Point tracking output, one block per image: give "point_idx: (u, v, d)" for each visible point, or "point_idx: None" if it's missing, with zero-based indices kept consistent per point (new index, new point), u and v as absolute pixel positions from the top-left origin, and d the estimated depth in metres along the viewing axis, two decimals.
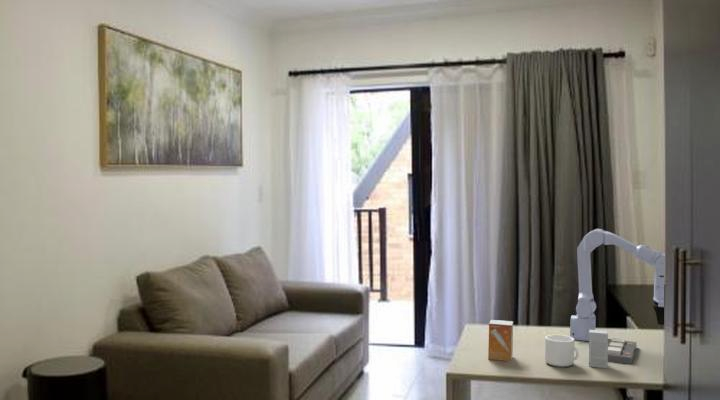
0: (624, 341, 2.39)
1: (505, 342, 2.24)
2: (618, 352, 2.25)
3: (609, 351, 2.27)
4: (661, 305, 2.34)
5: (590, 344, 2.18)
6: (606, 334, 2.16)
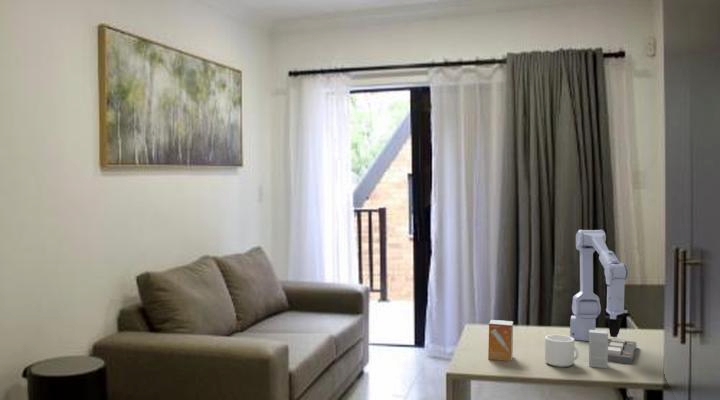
0: (624, 341, 2.39)
1: (505, 342, 2.24)
2: (618, 352, 2.25)
3: (609, 351, 2.27)
4: (613, 317, 2.21)
5: (590, 344, 2.18)
6: (606, 334, 2.16)
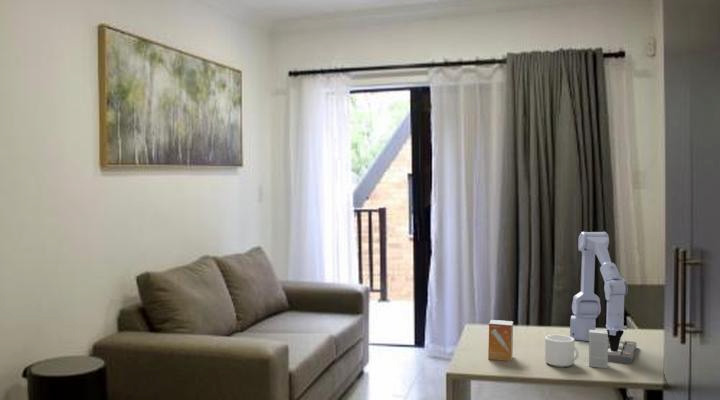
0: (624, 341, 2.39)
1: (505, 342, 2.24)
2: (618, 354, 2.25)
3: (609, 353, 2.27)
4: (612, 333, 2.21)
5: (590, 344, 2.18)
6: (606, 334, 2.16)
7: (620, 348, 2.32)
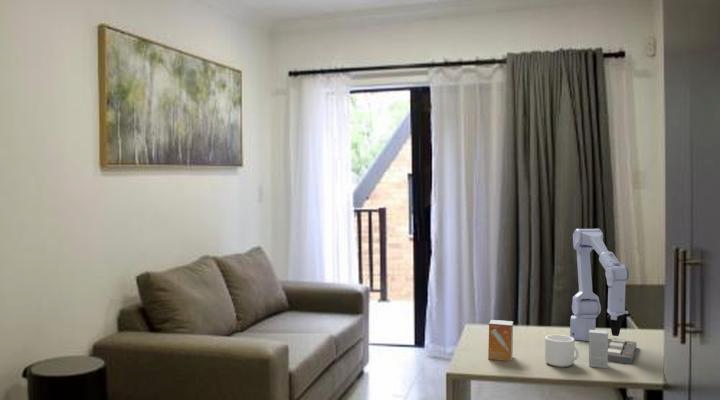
0: (624, 341, 2.39)
1: (505, 342, 2.24)
2: (618, 354, 2.25)
3: (609, 353, 2.27)
4: (613, 318, 2.25)
5: (590, 344, 2.18)
6: (606, 334, 2.16)
7: (620, 348, 2.32)
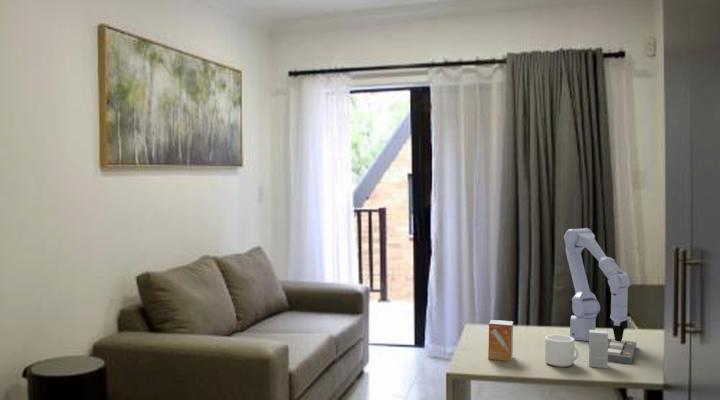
0: (624, 342, 2.39)
1: (505, 342, 2.24)
2: (618, 354, 2.25)
3: (609, 353, 2.27)
4: (617, 324, 2.34)
5: (590, 344, 2.18)
6: (606, 334, 2.16)
7: (620, 348, 2.32)
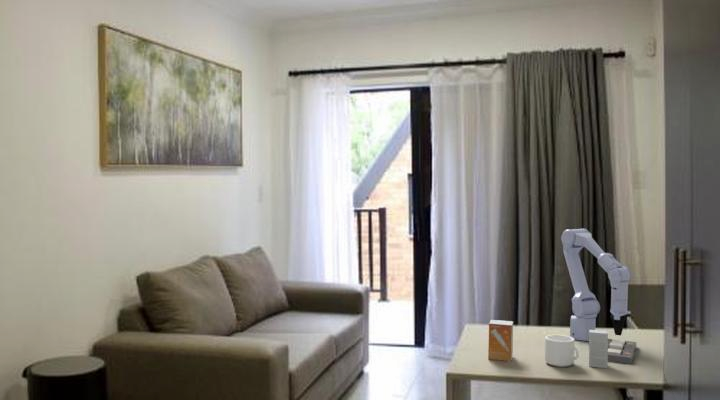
0: (624, 343, 2.39)
1: (505, 342, 2.24)
2: (618, 354, 2.25)
3: (609, 353, 2.27)
4: (617, 318, 2.34)
5: (590, 344, 2.18)
6: (606, 334, 2.16)
7: (620, 348, 2.32)
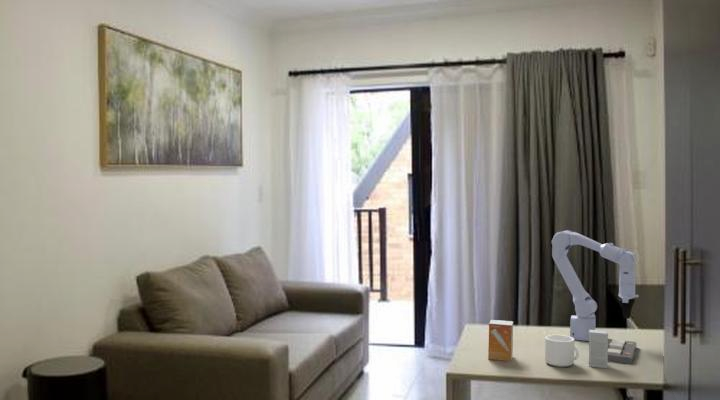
0: (624, 343, 2.39)
1: (505, 342, 2.24)
2: (618, 354, 2.25)
3: (609, 353, 2.27)
4: (625, 301, 2.39)
5: (590, 344, 2.18)
6: (606, 334, 2.16)
7: (620, 348, 2.32)
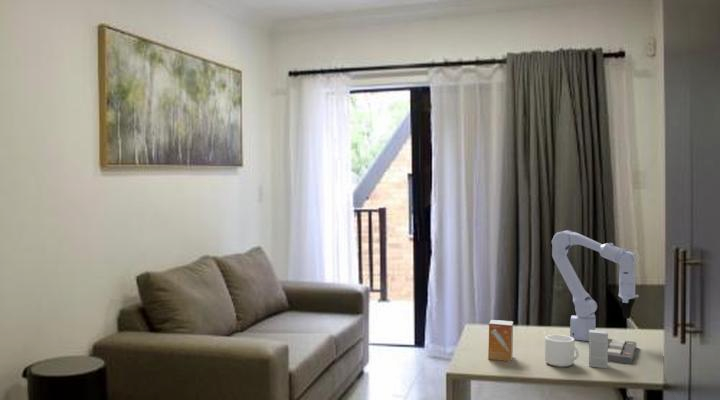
0: (624, 343, 2.39)
1: (505, 342, 2.24)
2: (618, 354, 2.25)
3: (609, 353, 2.27)
4: (625, 301, 2.39)
5: (590, 344, 2.18)
6: (606, 334, 2.16)
7: (620, 348, 2.32)
